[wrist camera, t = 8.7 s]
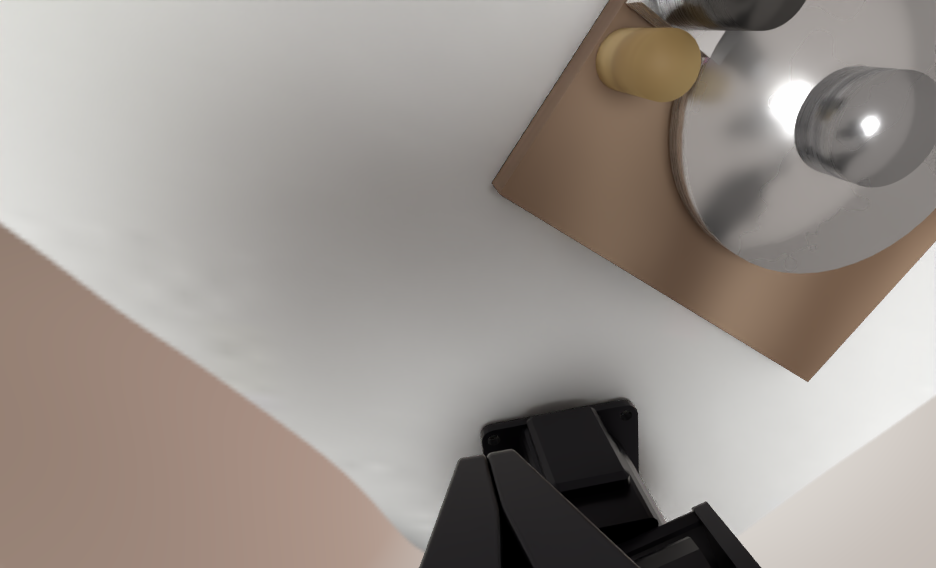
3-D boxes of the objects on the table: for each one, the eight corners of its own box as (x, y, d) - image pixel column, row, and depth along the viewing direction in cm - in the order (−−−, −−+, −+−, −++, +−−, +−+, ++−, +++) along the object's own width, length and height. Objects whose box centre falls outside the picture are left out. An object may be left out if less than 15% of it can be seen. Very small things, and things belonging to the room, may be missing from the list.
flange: (1024, 67, 20) (1207, 78, 15) (811, 307, 22) (915, 376, 18) (766, -208, 16) (913, -300, 11) (545, 123, 18) (595, 154, 14)
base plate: (1071, 38, 21) (1236, 40, 17) (785, 362, 25) (862, 427, 21) (787, -278, 17) (920, -378, 12) (491, 183, 21) (518, 221, 16)
